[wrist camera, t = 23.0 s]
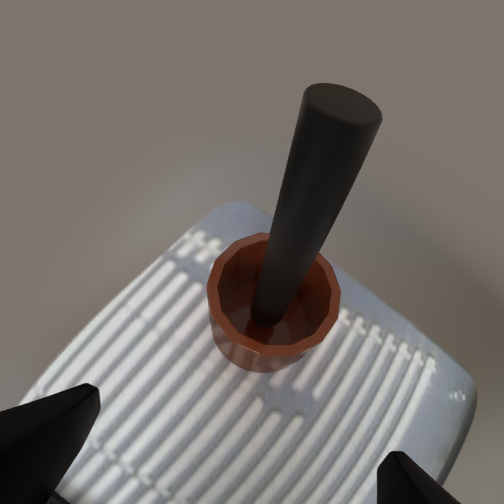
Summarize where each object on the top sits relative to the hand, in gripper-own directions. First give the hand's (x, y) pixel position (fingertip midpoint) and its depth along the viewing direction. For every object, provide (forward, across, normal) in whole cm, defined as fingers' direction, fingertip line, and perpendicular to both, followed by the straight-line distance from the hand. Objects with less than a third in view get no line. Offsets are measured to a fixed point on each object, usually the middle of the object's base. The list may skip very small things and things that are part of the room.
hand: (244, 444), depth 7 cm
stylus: (+10, 0, +1) cm, 11 cm away
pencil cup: (+11, 0, +1) cm, 11 cm away
